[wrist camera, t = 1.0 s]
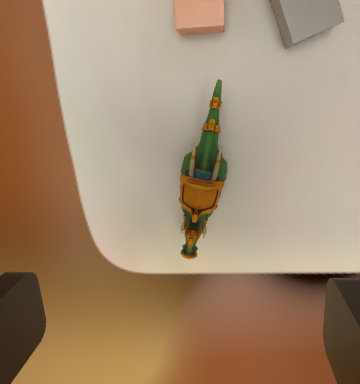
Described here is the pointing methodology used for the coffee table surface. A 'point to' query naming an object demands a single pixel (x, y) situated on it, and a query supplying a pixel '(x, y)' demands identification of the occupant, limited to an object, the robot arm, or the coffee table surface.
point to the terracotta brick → (199, 16)
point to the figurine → (202, 178)
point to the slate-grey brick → (305, 18)
